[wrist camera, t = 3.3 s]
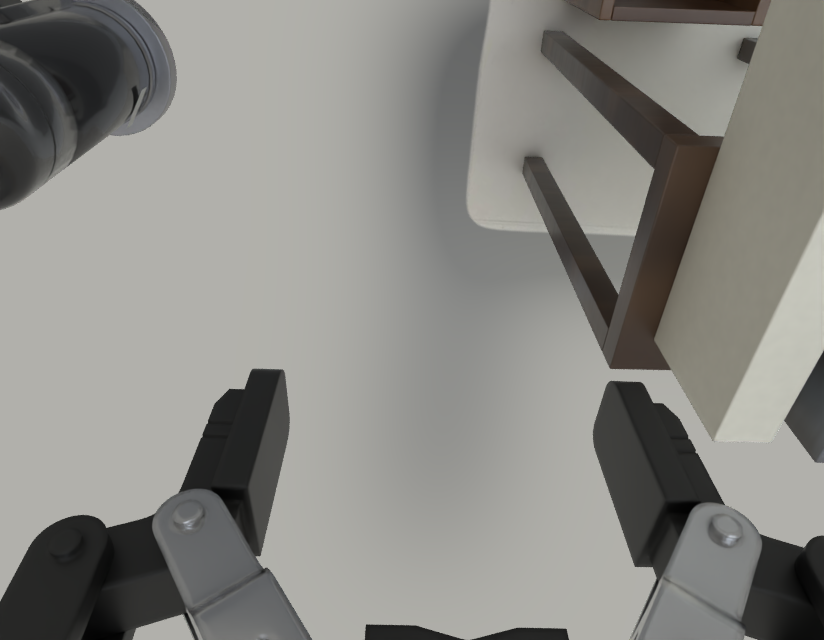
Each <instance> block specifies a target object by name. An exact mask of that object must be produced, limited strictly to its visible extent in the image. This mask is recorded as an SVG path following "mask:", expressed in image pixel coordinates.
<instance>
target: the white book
mask: <svg viewBox="0 0 824 640" xmlns="http://www.w3.org/2000/svg"><path fill="white" fill-rule="evenodd" d="M654 341H655V343H656V344H657V346H658V348H659V349H660V351H661V353H662V355H663V356H664V358H665V360H666V361H667V363H668V365H669V367H670V368H671V370H672V372H673V374H674V375H675V377H676V379H677V380H678V382H679V384H680V386H681V387H682V389H683V391H684V392H685V394H686V396H687V398H688V399H689V401H690V403H691V405H692V406H693V408H694V410H695V411H696V413H697V415H698V416H699V418H700V420H701V422H702V423H703V425H704V427H705V428H706V430H707V432H708V434H709V435H710V437H711V439H712V441H714V442H762V443H763V442H764V443H770V442H772V441H773V439H774V437H775V435H776V433H777V432H778V430H779V428H780V427H781V424H782V423H783V421H784V420H785V418H786V416H787V414H788V413H789V411H790V409H791V407H792V405H793V404H794V402H795V400H796V398H797V397H798V395H799V393H800V391H801V390H802V388H803V386H804V384H805V383H806V381H807V379H808V377H809V375H810V374H811V372H812V370H813V368H814V367H815V365H816V363H817V361H818V360H819V358H820V356H821V354H822V353H823V351H824V0H771V3H770V6H769V9H768V12H767V14H766V17H765V20H764V23H763V26H762V29H761V32H760V35H759V38H758V40H757V43H756V46H755V49H754V52H753V55H752V58H751V61H750V64H749V66H748V69H747V72H746V75H745V78H744V81H743V84H742V87H741V90H740V92H739V95H738V98H737V101H736V104H735V107H734V110H733V113H732V116H731V118H730V121H729V124H728V127H727V130H726V133H725V136H724V139H723V142H722V144H721V147H720V150H719V153H718V156H717V159H716V162H715V165H714V168H713V170H712V173H711V176H710V179H709V182H708V185H707V188H706V191H705V194H704V196H703V199H702V202H701V205H700V208H699V211H698V214H697V217H696V219H695V222H694V225H693V228H692V231H691V234H690V237H689V240H688V243H687V245H686V248H685V251H684V254H683V257H682V260H681V263H680V266H679V269H678V271H677V274H676V277H675V280H674V283H673V286H672V289H671V292H670V295H669V297H668V300H667V303H666V306H665V309H664V312H663V315H662V318H661V321H660V323H659V326H658V329H657V332H656V335H655V338H654Z"/></svg>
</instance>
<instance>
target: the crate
mask: <svg viewBox="0 0 824 640" xmlns="http://www.w3.org/2000/svg"><path fill="white" fill-rule="evenodd" d="M565 1H567V2H569V3H570V4H572V5H574V6H576V7H578V8H579V9H581V10H583V11H585V12H586V13H588V14H590V15H592V16H594V17H595V18H597V19H599V20H613V21H639V22H666V23H693V24H720V25H747V26H750V25H752V26H763V23H764V20H765V17H766V14H767V12H768V9H769V6H770V3H771V0H565Z"/></svg>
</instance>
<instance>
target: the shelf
mask: <svg viewBox="0 0 824 640" xmlns="http://www.w3.org/2000/svg"><path fill="white" fill-rule="evenodd" d="M757 40H758V39H756V38H744V40H743V43H742V46H741V49H740V52H739V55H738V59H739V60H741V61H743V62H746V63H748V64H750V61H751V58H752V55H753V52H754V49H755V46H756V43H757ZM541 52H542V53H543V54H544V55H545V56H546V57H547V59H548V60H549V61H550V62H551V63H552V64H553V65H554V66H555V67H556V68H557V69H558V70H559V71H560V72H561V73H562V74H563V75H564V76H565V77H566V78H567V79H568V80H569V81H570V82H571V83H572V84H573V85H574V86H575V88H576V89H577V90H578V91H579V92H580V93H581V94H582V95H583V96H584V97H585V98H586V99H587V100H588V101H589V102H590V103H591V104H592V105H593V106H594V107H595V108H596V109H597V110H598V111H599V112H600V113H601V114H602V115H603V117H604V118H605V119H606V120H607V121H608V122H609V123H610V124H611V125H612V126H613V127H614V128H615V129H616V130H617V131H618V132H619V133H620V134H621V135H622V136H623V137H624V138H625V139H626V140H627V141H628V142H629V143H630V144H631V146H632V147H633V148H634V149H635V150H636V151H637V152H638V153H639V154H640V155H641V156H642V157H643V158H644V159H645V160H646V161H647V162H648V163H649V164H650V165H651V166H652V167H653V168H654V169H655V170H654V173H653V177H652V180H651V184H650V187H649V191H648V194H647V198H646V201H645V205H644V208H643V212H642V215H641V219H640V222H639V226H638V229H637V233H636V236H635V240H634V243H633V247H632V250H631V254H630V258H629V261H628V264H627V268H626V271H625V275H624V278H623V282H622V285H621V289H620V292H619V295H618V293H617V292H616V290H615V288H614V286H613V285H612V283H611V281H610V279H609V277H608V275H607V274H606V272H605V270H604V268H603V267H602V265H601V263H600V261H599V259H598V257H597V256H596V254H595V252H594V250H593V248H592V247H591V245H590V243H589V241H588V239H587V238H586V236H585V234H584V232H583V230H582V229H581V227H580V225H579V223H578V221H577V220H576V218H575V216H574V214H573V212H572V211H571V209H570V207H569V205H568V203H567V202H566V200H565V198H564V196H563V194H562V193H561V191H560V189H559V187H558V185H557V184H556V182H555V180H554V178H553V176H552V175H551V173H550V171H549V169H548V167H547V166H546V164H545V162H544V160H543V158H540V157H525V160H524V167H523V176H524V178H525V180H526V182H527V185H528V187H529V189H530V191H531V194H532V196H533V198H534V200H535V203H536V205H537V207H538V209H539V212H540V214H541V216H542V218H543V221H544V223H545V225H546V227H547V229H548V232H549V234H550V236H551V238H552V240H553V243H554V245H555V247H556V250H557V252H558V254H559V256H560V258H561V261H562V263H563V265H564V267H565V269H566V272H567V274H568V276H569V279H570V281H571V283H572V285H573V287H574V290H575V292H576V294H577V297H578V299H579V301H580V303H581V306H582V307H583V310H584V312H585V314H586V316H587V319H588V321H589V323H590V326H591V328H592V330H593V332H594V334H595V337H596V339H597V341H598V344H599V346H600V348H601V350H602V351H603V354H604V356H605V359H606V361H607V363H608V365H609V367H610V369H643V370H644V369H646V370H671V368H670V367H669V365H668V363H667V361H666V360H665V358H664V356H663V355H662V353H661V351H660V349H659V348H658V346H657V344H656V343H655V341H654V338H655V335H656V332H657V329H658V326H659V323H660V321H661V318H662V315H663V312H664V309H665V306H666V303H667V300H668V297H669V295H670V292H671V289H672V286H673V283H674V280H675V277H676V274H677V271H678V269H679V266H680V263H681V260H682V257H683V254H684V251H685V248H686V245H687V243H688V240H689V237H690V234H691V231H692V228H693V225H694V222H695V219H696V217H697V214H698V211H699V208H700V205H701V202H702V199H703V196H704V194H705V191H706V188H707V185H708V182H709V179H710V176H711V173H712V170H713V168H714V165H715V162H716V159H717V156H718V153H719V150H720V147H721V144H722V142H723V139H724V137H722V136H699V135H698V134H697V133H695V132H694V131H693V130H691V129H690V128H689V127H687V126H686V125H685V124H683V123H682V122H681V121H679V120H678V119H677V118H676V117H674V116H673V115H672V114H670V113H669V112H668V111H666V110H665V109H664V108H662V107H661V106H660V105H659V104H657V103H656V102H655V101H653V100H652V99H651V98H649V97H648V96H647V95H645V94H644V93H643V92H641V91H640V90H639V89H638V88H636V87H635V86H634V85H632V84H631V83H630V82H628V81H627V80H626V79H624V78H623V77H622V76H621V75H619V74H618V73H617V72H615V71H614V70H613V69H611V68H610V67H609V66H607V65H606V64H605V63H604V62H602V61H601V60H600V59H598V58H597V57H596V56H594V55H593V54H592V53H590V52H589V51H588V50H586V49H585V48H584V47H583V46H581V45H580V44H579V43H577V42H576V41H575V40H573V39H572V38H571V37H569V36H568V35H567V34H566V33H564V32H563V31H544V34H543V41H542V47H541ZM784 421H785V422H786V424H787V425H788V426H789V428H790V429H791V430H792V432H793V433H794V435H795V436H796V437H797V439H798V440H799V441H800V443H801V444H802V445H803V447H804V448H805V449H806V451H807V452H808V453H809V455H810V456H811V457H812V459H813V460H814V461H815V462H817V463H824V351H823V353H822V354H821V356H820V358H819V360H818V361H817V363H816V365H815V367H814V368H813V370H812V372H811V374H810V375H809V377H808V379H807V381H806V383H805V384H804V386H803V388H802V390H801V391H800V393H799V395H798V397H797V398H796V400H795V402H794V404H793V405H792V407H791V409H790V411H789V413H788V414H787V416H786V418H785V420H784Z"/></svg>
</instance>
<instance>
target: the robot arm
mask: <svg viewBox="0 0 824 640" xmlns="http://www.w3.org/2000/svg"><path fill="white" fill-rule="evenodd" d="M154 88H155V71H154V66H153V62H152V59H151V56H150V53H149V51H148V49H147V47H146V45H145V44H144V42H143V40H142V39H141V37H140V36H139V35H138V34H137V32H136V31H135V30H134V29H133V28H132V27H131V26H130V25H129V24H128V23H127V22H126V21H125V20H124V19H122V18H121V17H120V16H118V15H117V14H115V13H114V12H112V11H110V10H108V9H106V8H104V7H102V6H99V5H96V4H92V3H87V2H76V1H74V0H31V1H26V2H22V1H20V0H0V210H2V209H6V208H8V207H11V206H13V205H15V204H17V203H19V202H21V201H22V200H24V199H25V198H27V197H28V196H29V195H31V194H32V193H33V192H35V191H36V190H37V189H39V188H40V187H41V186H42V185H44V184H45V183H46V182H48V181H49V180H50V179H52V178H53V177H54V176H56V175H57V174H58V173H60V172H61V171H62V170H64V169H65V168H66V167H67V166H69V165H70V164H72V163H73V162H74V161H75V160H76V159H78V158H79V157H81V156H82V155H83V154H85V153H86V152H87V151H89V150H90V149H91V148H93V147H94V146H95V145H97V144H98V143H99V142H101V141H102V140H103V139H105V138H106V137H107V136H109V135H110V134H111V133H113V132H114V131H115V130H117V129H118V128H119V127H121V126H122V125H123V124H125V123H126V122H128V121H129V120H130V121H129V124H128V126H127V128H128V127H130V126H131V125H132V124H133V121H134V119H135V117H136V116H137V115H139V114H140V113H141V112H142V111H143V110H144V109H145V108H146V107H147V106H148V104H149V102H150V101H151V98H152V96H153V93H154ZM289 421H290V417H289V406H288V397H287V388H286V379H285V373H284V370H279V369H252V371H251V373H250V375H249V378H248V381H247V384H246V387H245V389H229V390H228V391H227V392H226V393H225V394H224V395H223V396H222V397H221V398H220V399H219V400H218V401H217V402H216V403H215V405H214V407H213V409H212V412H211V415H210V417H209V420H208V424H207V425H206V427H205V430H204V432H203V437H202V438H201V440H200V442H199V445H198V447H197V450H196V452H195V455H194V457H193V460H192V462H191V465H190V467H189V470H188V473H187V475H186V477H185V480H184V482H183V485H182V487H181V489H180V491H179V493H178V494H176V495H174V496H172V497H171V498H169V499H168V500H167V501H165V502H164V503H163V504H162V505H161V507H160V508H159V509H158V510H157V512H156V513H155V514H154V515H152V516H149V517H147V518H144V519H140V520H137V521H133V522H129V523H125V524H121V525H117V526H113V527H109V528H106V526H105V524H104V523H103V522H102V521H101V520H99V519H98V518H96V517H93V516H89V515H78V516H72V517H68V518H65V519H62V520H60V521H58V522H56V523H54V524H52V525H50V526H49V527H47V528H46V529H45V530H43V531H42V532H41V533H40V534H39V535H38V536H37V537H36V539H34V541H33V542H32V544H31V545H30V547H29V548H28V550H27V552H26V554H25V556H24V558H23V560H22V562H21V563H20V565H19V567H18V569H17V571H16V573H15V575H14V577H13V579H12V580H11V583H10V584H9V586H8V588H7V590H6V592H5V594H4V595H3V597H2V599H1V601H0V640H132V639H133V636H134V633H135V630H136V628H138V627H141V626H144V625H148V624H151V623H154V622H158V621H161V620H164V619H167V618H171V617H174V616H178V615H181V614H183V616H184V619H185V621H186V623H187V625H188V628H189V630H190V632H191V635H192V637H193V639H194V640H312V638H311V637H310V635H309V633H308V632H307V630H306V629H305V627H304V625H303V623H302V622H301V620H300V618H299V617H298V615H297V613H296V612H295V610H294V608H293V607H292V605H291V603H290V602H289V600H288V598H287V597H286V595H285V593H284V591H283V590H282V588H281V587H280V585H279V583H278V581H277V580H276V578H275V577H274V575H273V574H272V572H271V571H270V570H269V569H268V568H265V569H263V568H262V566H261V565H260V564H259V562H258V560H257V559H256V557H255V556H260V555H261V551H262V547H263V543H264V539H265V534H266V530H267V526H268V521H269V517H270V513H271V509H272V504H273V500H274V496H275V492H276V487H277V483H278V479H279V475H280V470H281V466H282V462H283V458H284V453H285V449H286V445H287V440H288V435H289V423H290V422H289ZM593 442H594V448H595V451H596V454H597V457H598V460H599V463H600V466H601V469H602V472H603V475H604V478H605V480H606V483H607V486H608V489H609V492H610V495H611V498H612V501H613V504H614V507H615V510H616V513H617V515H618V519H619V521H620V524H621V527H622V530H623V533H624V536H625V539H626V542H627V545H628V548H629V551H630V553H631V557H632V559H633V563H634V565H635V567H653V569H654V572H655V574H656V577H657V579H656V581H655V583H654V585H653V587H652V589H651V591H650V594H649V596H648V598H647V600H646V603H645V605H644V607H643V610H642V612H641V614H640V616H639V619H638V621H637V623H636V625H635V628H634V630H633V632H632V635H631V637H630V639H629V640H743V639H744V635H745V636H749V637H751V638H755V639H757V640H824V536H817V537H814V538H812V539H811V540H810V541H809V542H808V543H807V545H806V546H805V547H804V548H803V547H799V546H796V545H793V544H789V543H786V542H782V541H779V540H776V539H773V538H769V537H766V536H764V535H761V534H759V532H758V530H757V529H756V527H755V526H754V525H753V524H752V523H751V521H750V520H749V519H747V518H746V517H745V516H744V515H743V514H741V513H740V512H738V511H736V510H735V509H733V508H731V507H728V506H726V505H725V504H724V502H723V501H722V499H721V497H720V495H719V493H718V491H717V489H716V487H715V486H714V484H713V482H712V480H711V478H710V476H709V474H708V472H707V470H706V468H705V467H704V465H703V463H702V461H701V459H700V457H699V455H698V454H697V453H695V451H696V450H695V448H694V446H693V444H692V442H691V440H690V439H688V435H687V433H686V431H685V429H684V427H683V425H682V423H681V421H680V419H679V418H678V417H677V416H676V415H675V414H674V413H672V412H671V411H670V410H669V409H668V408H667V407H666V406H665V405H664V404H662V403H653V402H652V400H651V398H650V396H649V394H648V392H647V390H646V388H645V386H644V385H643V383H641V382H622V381H610V382H609V383H608V384H607V386H606V389H605V392H604V395H603V398H602V401H601V405H600V408H599V411H598V414H597V417H596V420H595V424H594V429H593ZM365 640H464V639H460V638H456V637H453V636H449V635H446V634H443V633H439V632H435V631H432V630H429V629H425V628H422V627H419V626H409V625H406V626H405V625H366V631H365ZM472 640H569V638H568V634H567V629H554V628H553V629H552V628H515V629H511V630H507V631H503V632H499V633H496V634H492V635H488V636H484V637H481V638H477V639H472Z"/></svg>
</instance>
